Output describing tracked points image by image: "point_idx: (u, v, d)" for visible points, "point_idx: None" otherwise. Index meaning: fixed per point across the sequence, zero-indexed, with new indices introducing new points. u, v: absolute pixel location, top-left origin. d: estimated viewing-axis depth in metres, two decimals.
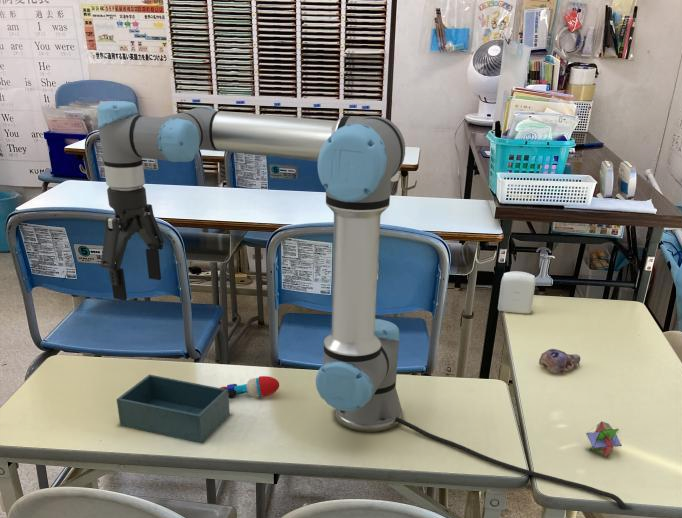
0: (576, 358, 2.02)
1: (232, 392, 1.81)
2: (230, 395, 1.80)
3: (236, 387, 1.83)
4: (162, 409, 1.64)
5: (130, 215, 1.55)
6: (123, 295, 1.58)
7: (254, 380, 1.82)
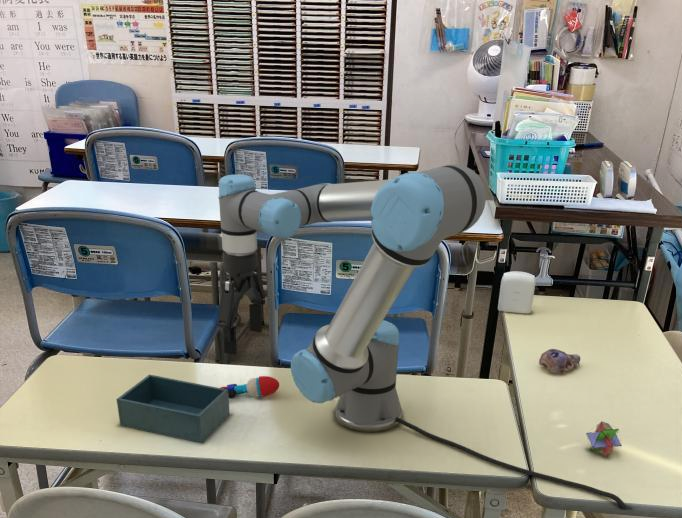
0: (576, 358, 2.02)
1: (232, 392, 1.81)
2: (230, 395, 1.80)
3: (236, 387, 1.83)
4: (162, 409, 1.64)
5: (242, 277, 1.67)
6: (234, 350, 1.70)
7: (254, 380, 1.82)
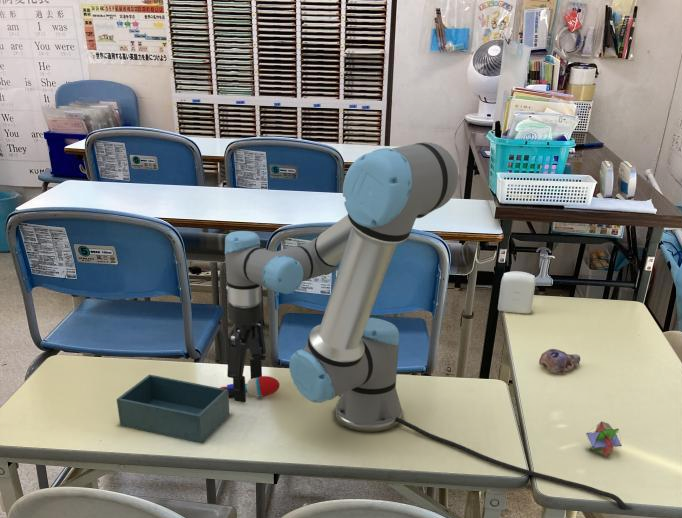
0: (576, 358, 2.02)
1: (232, 392, 1.81)
2: (230, 395, 1.80)
3: None
4: (162, 409, 1.64)
5: (247, 327, 1.73)
6: (243, 398, 1.79)
7: (254, 380, 1.82)
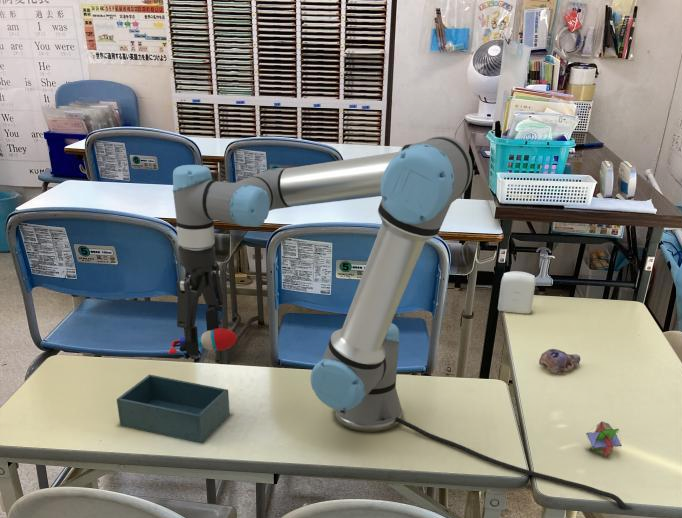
0: (576, 358, 2.02)
1: (185, 345, 1.68)
2: (182, 348, 1.67)
3: None
4: (162, 409, 1.64)
5: (199, 273, 1.60)
6: (196, 351, 1.65)
7: (209, 332, 1.68)
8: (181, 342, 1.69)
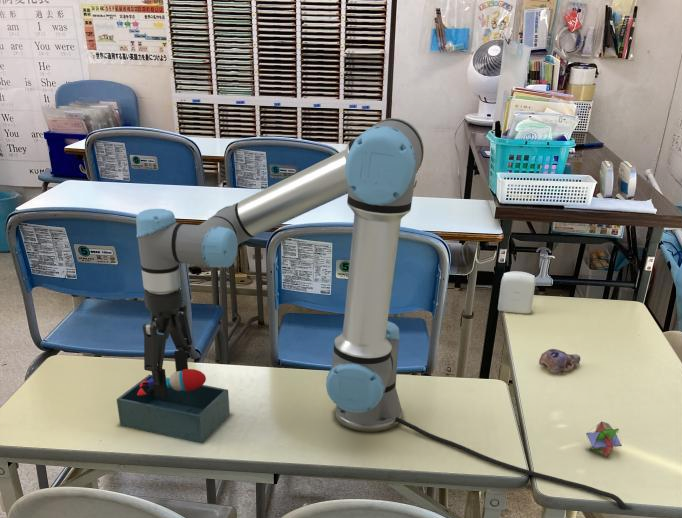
0: (576, 358, 2.02)
1: (153, 386, 1.66)
2: (151, 390, 1.65)
3: None
4: (162, 409, 1.64)
5: (166, 315, 1.58)
6: (165, 393, 1.64)
7: (178, 373, 1.67)
8: (149, 383, 1.67)
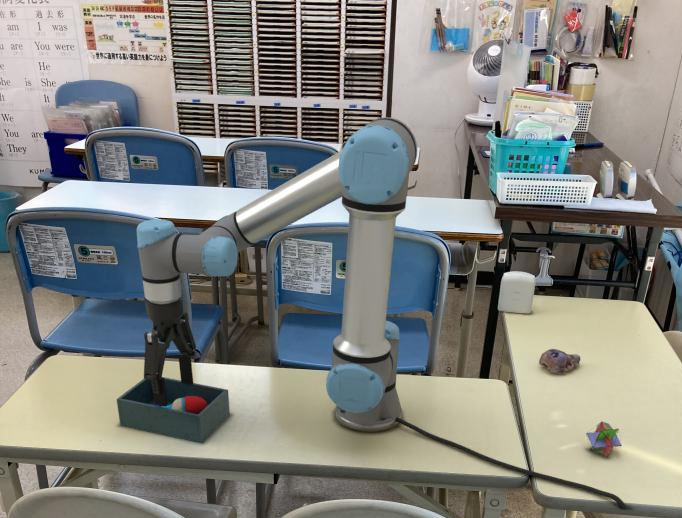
0: (576, 358, 2.02)
1: None
2: None
3: None
4: (162, 409, 1.64)
5: (167, 325, 1.59)
6: (165, 402, 1.64)
7: (180, 400, 1.71)
8: None
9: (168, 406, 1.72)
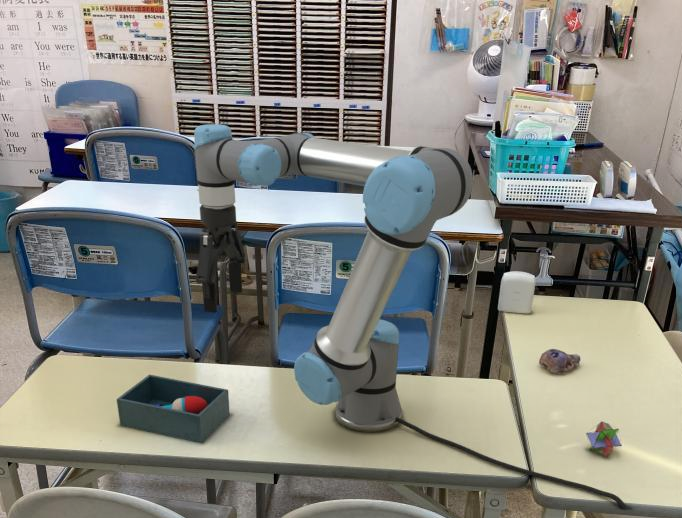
0: (576, 358, 2.02)
1: None
2: None
3: None
4: (162, 409, 1.64)
5: (221, 232, 1.63)
6: (214, 308, 1.66)
7: (180, 400, 1.71)
8: None
9: (168, 406, 1.72)
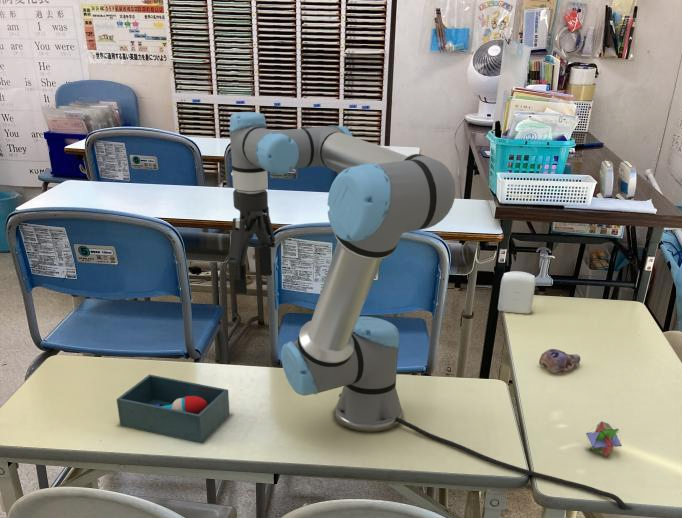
0: (576, 358, 2.02)
1: None
2: None
3: None
4: (162, 409, 1.64)
5: (253, 216, 1.69)
6: (244, 289, 1.72)
7: (180, 400, 1.71)
8: None
9: (168, 406, 1.72)
